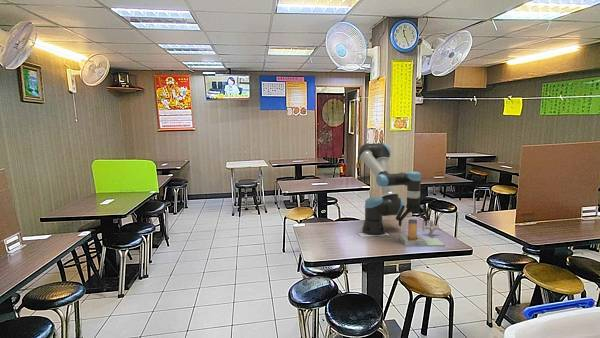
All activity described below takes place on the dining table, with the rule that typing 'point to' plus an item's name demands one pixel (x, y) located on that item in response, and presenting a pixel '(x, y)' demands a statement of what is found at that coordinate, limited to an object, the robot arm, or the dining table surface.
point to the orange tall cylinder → (412, 229)
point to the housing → (412, 241)
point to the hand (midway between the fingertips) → (412, 231)
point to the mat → (433, 242)
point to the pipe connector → (431, 227)
